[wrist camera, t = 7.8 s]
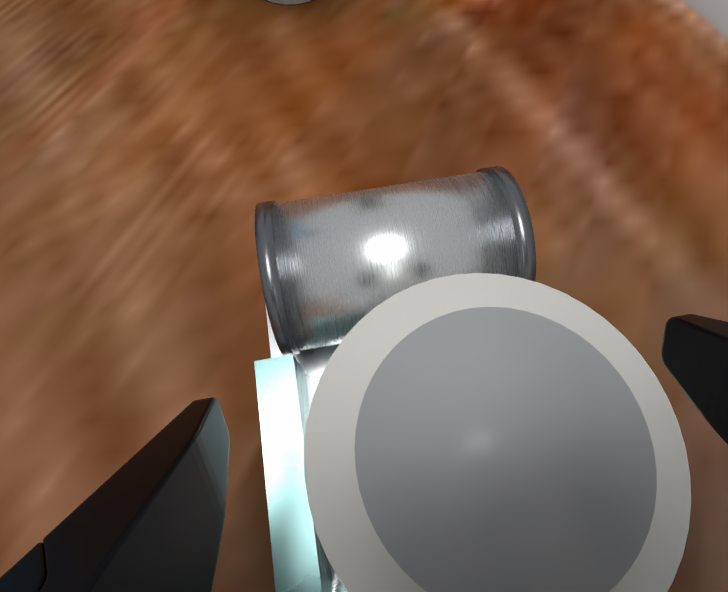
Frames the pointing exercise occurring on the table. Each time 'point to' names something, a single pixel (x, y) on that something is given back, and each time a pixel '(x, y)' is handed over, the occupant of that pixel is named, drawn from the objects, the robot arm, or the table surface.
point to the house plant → (288, 1)
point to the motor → (358, 309)
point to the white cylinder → (494, 448)
